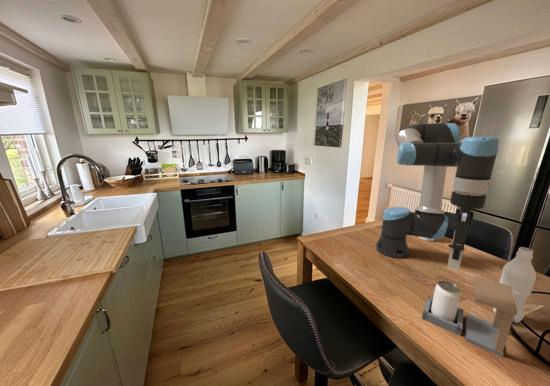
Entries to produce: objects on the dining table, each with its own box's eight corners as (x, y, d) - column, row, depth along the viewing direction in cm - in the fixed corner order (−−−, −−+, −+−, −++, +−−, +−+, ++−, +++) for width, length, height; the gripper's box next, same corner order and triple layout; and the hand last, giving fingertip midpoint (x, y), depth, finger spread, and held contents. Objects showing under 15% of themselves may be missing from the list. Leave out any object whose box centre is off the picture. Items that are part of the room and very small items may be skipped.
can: (458, 326, 70) (466, 294, 67) (435, 323, 72) (442, 291, 69) (447, 311, 77) (454, 281, 74) (427, 308, 78) (432, 278, 75)
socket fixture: (421, 321, 73) (428, 281, 69) (427, 299, 82) (434, 263, 78) (502, 358, 60) (517, 311, 57) (499, 327, 70) (511, 286, 66)
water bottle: (485, 309, 77) (502, 244, 71) (503, 307, 78) (523, 243, 71) (507, 326, 70) (529, 256, 64) (528, 324, 71) (551, 254, 65)
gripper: (488, 205, 52) (469, 283, 57) (485, 186, 70) (471, 246, 75) (448, 199, 57) (434, 272, 62) (455, 183, 75) (443, 240, 80)
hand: (454, 258), depth 69 cm, fingers open, 13 cm apart
